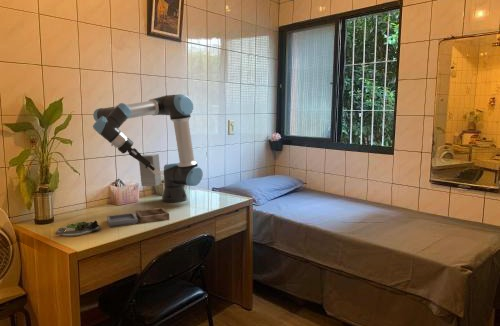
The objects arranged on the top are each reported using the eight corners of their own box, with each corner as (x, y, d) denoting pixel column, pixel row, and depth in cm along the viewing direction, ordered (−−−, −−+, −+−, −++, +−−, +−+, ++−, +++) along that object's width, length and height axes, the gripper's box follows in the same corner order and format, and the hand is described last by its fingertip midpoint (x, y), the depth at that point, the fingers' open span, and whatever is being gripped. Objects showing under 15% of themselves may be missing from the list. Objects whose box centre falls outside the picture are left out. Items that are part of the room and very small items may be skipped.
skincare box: (161, 184, 193) (160, 154, 191) (154, 187, 186) (153, 155, 184) (147, 183, 195) (145, 153, 193) (139, 186, 188) (138, 155, 186)
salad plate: (63, 242, 158) (62, 231, 157) (46, 233, 170) (46, 223, 169) (106, 231, 172) (106, 221, 172) (88, 224, 184) (88, 215, 183)
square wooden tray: (163, 213, 202) (162, 207, 202) (169, 219, 189) (169, 213, 189) (136, 216, 196) (135, 210, 195) (140, 223, 183) (140, 217, 183)
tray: (133, 217, 194) (133, 212, 193) (138, 223, 182) (137, 218, 182) (107, 220, 188) (106, 215, 188) (109, 227, 176) (109, 222, 176)
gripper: (114, 147, 191) (147, 175, 200) (119, 150, 171) (156, 181, 180) (124, 136, 193) (156, 164, 202) (131, 138, 173) (166, 169, 182)
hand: (156, 172), depth 191 cm, fingers closed on skincare box, 10 cm apart
